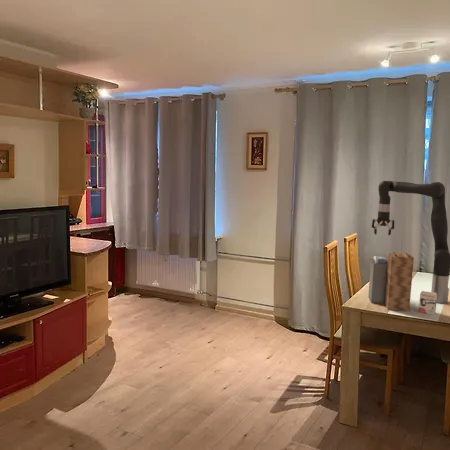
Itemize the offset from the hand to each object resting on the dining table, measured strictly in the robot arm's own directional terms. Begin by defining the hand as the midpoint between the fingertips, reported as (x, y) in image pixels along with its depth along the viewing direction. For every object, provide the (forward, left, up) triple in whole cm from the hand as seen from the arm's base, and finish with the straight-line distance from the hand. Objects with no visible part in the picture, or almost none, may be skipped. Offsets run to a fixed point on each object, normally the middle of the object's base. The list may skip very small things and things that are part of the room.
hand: (382, 234), depth 314 cm
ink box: (-21, +44, -38) cm, 62 cm away
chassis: (+4, +26, -38) cm, 47 cm away
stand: (-5, +39, -38) cm, 55 cm away
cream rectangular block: (+4, +19, -16) cm, 25 cm away
